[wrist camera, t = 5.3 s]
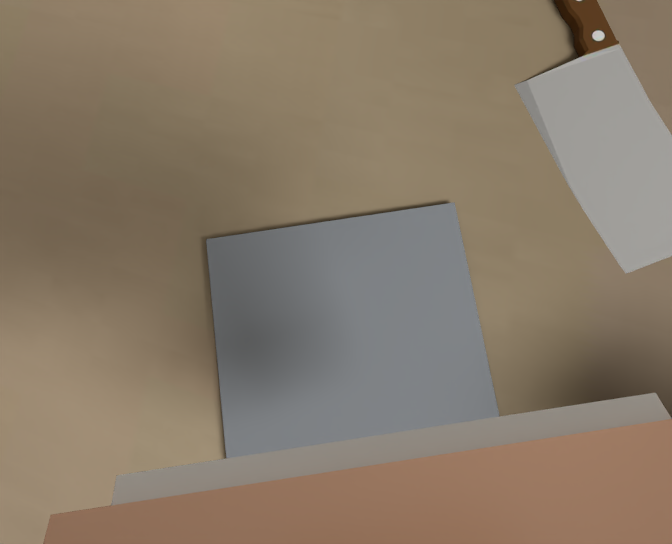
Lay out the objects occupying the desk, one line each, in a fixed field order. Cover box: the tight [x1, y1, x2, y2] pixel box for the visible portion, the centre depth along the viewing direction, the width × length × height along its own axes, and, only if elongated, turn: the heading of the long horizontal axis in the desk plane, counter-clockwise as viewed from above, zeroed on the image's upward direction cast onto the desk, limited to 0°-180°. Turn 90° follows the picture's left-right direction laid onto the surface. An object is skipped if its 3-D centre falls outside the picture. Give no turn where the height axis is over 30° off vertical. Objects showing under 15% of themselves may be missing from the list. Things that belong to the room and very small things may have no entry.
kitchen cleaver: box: [515, 0, 672, 273], centre depth 23 cm, size 24×1×10 cm
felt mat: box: [206, 203, 500, 459], centre depth 20 cm, size 24×16×1 cm, turn 8°
